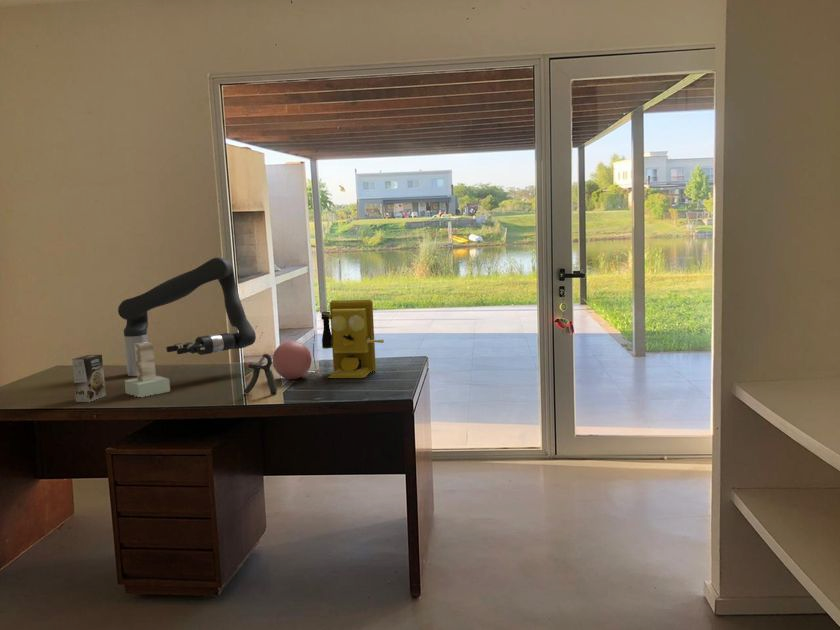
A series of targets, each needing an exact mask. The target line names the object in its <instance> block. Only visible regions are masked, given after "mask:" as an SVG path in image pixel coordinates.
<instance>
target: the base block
mask: <svg viewBox="0 0 840 630" xmlns="http://www.w3.org/2000/svg"><path fill="white" fill-rule="evenodd" d="M124 390H125V391H124V392H125V394H126V393H127V394H126V395H129V394H130V395H129V396H132V395H134V396H133V397H136V396H137V397H136V398H139V397H141V398H145V396H146V397H149V396H150V395H151V396H156V395H159V394H166V393H169V392H171V383H170V378H169V377H164V376H160V375H157V374H156V379H154V380H149V381H144V382H143V381H139V380H138V379H137V377H136V378H132V379H127V380H124ZM155 394H156V395H155Z"/></svg>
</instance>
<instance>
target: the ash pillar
mask: <svg viewBox="0 0 840 630" xmlns="http://www.w3.org/2000/svg"><path fill="white" fill-rule="evenodd" d="M134 347H135V358H136V369H137V376H136V378H137V379H138V380H139V381H143V382H144V381H149V380H154V379H156V375H157V372H156V364H155V363H156V362H155V351H154V342H150V341H148V342H143V343H136V344H134Z"/></svg>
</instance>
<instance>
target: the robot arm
mask: <svg viewBox="0 0 840 630" xmlns="http://www.w3.org/2000/svg"><path fill="white" fill-rule="evenodd" d="M233 266H234V265H233V264H232V262H231V261H230V260H229V259H227V258H224V257H214V258H211V259H208V261H205V262H204V263H203V264H201V265H199V266H197V267H196V268H194V269H192V270H189V271H187V272H184V273H181V274H179V275H176V276H174V277H172V278H170V279H167V280H166V281H164V282H162V283H159V284H158V285H156V286H155V287H153V288H151V289H150V290H148V291H146V292H144V293H142V294H139V295H136V296H134V297H130V298H126V299H124V300H122V302H120V303H119V305H118V308H117V312H118V315H119V316H120V318H121V319H123V320H126V324H125V327H124V329H123V337H124V350H125V359H126V371H127V376H128V377H137V369H136V358H135V347H134V344H136V343H143V342H149V340H148V327H149V319H148V318H149V317H148V312H149V311H151V310H152V309H155V308H158V307H162V306H165V305H169V304H171V303H174V302H176V301H179V300H181V299H183V298H185V297H187V296H188V295H190V294H192V293H193V292H194V291H195V290H196V289H198V288H199V287H201V286H203V285H205V284H208V283H210V282H213V281H216V280H217V281H218V282H219V284H220V286H221V290H222V294H223V299H224V300H223V301H224V308H225V311H226V315H227V317H228V321H229V323H230V325H231V327H234V328H236V330H237V332H234V333H228V332H226V333H219V334H218V333H217V334H207V335H203V336H202V335H201V336H197V337H196V338H195V340H194V342H193V341H187V342H181V343H174V345H170V346H169V345H168V346H165V347H166V352H167V353H171V352H173V353H174V352H176V354H177V355H183V354H191V355H192V354H195V353H197V354H198V355H199V356H203V355H211V354H215V353H219V352H224V351H229V350H239V349H245V348H246V347H249V346H252V345H253V344H254V343H255V342H256V339H257V337H256V332H255V330H254V328H253V326H252V324H251V323H250V322H249V320H248V318H247V316H246V313H245V310H244V307H243V304H242V301H241V298H240V294H239V291H238V287H237V283H236V278H235V272H234V267H233Z"/></svg>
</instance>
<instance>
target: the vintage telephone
mask: <svg viewBox="0 0 840 630" xmlns="http://www.w3.org/2000/svg"><path fill="white" fill-rule="evenodd" d="M320 308H322V306H321V307H319V308H318V309H317V311H316V315H317V313H318V311H319V310H320ZM323 310H324V311H322V312H321V317H320V318H321V320H322V322H323V323H322V324H323V331H322V337H321V344H322V349H325V350H327V349H331V351H332V366H333V372H331V374H330V373H329V374H328V373H322V375H325V376H326V375H328V376H327V379H328V378H364V377H365V378H366V377H368V376H369V375H370V374H371V373H372V372H371V371H377V365H376V351H375V350H376V345H375V343H381V344H383V343H384V338H382V339H375V326H374V306H373V301H372V300H371V299H344V300H343V299H342V300H341V299H338V300H337V299H336V300H333V299H332V300H331V301H330V302H329V310H330V311H326V310H325V308H323ZM314 324H316V319H315V323H314ZM315 336H316V331H314V335H313V341H315ZM312 347H313V348H312V356H313V357H312V358H313V362H314V364H316V361H315V359H316V358H315V344H313V346H312ZM314 368H315V370H317V369H316V368H317V367H316V365H314ZM334 371H335V372H334ZM370 372H371V373H370ZM369 373H370V374H369ZM368 374H369V375H368ZM367 375H368V376H367ZM365 378H364V379H365Z"/></svg>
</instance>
